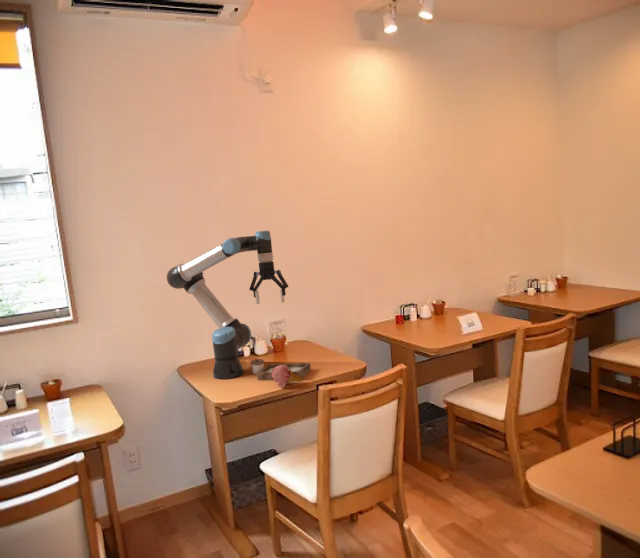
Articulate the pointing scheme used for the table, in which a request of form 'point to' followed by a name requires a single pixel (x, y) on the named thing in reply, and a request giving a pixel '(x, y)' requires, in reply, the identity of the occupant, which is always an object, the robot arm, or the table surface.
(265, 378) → the tray
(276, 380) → the ice cream
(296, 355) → the table surface
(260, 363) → the sugar pot
